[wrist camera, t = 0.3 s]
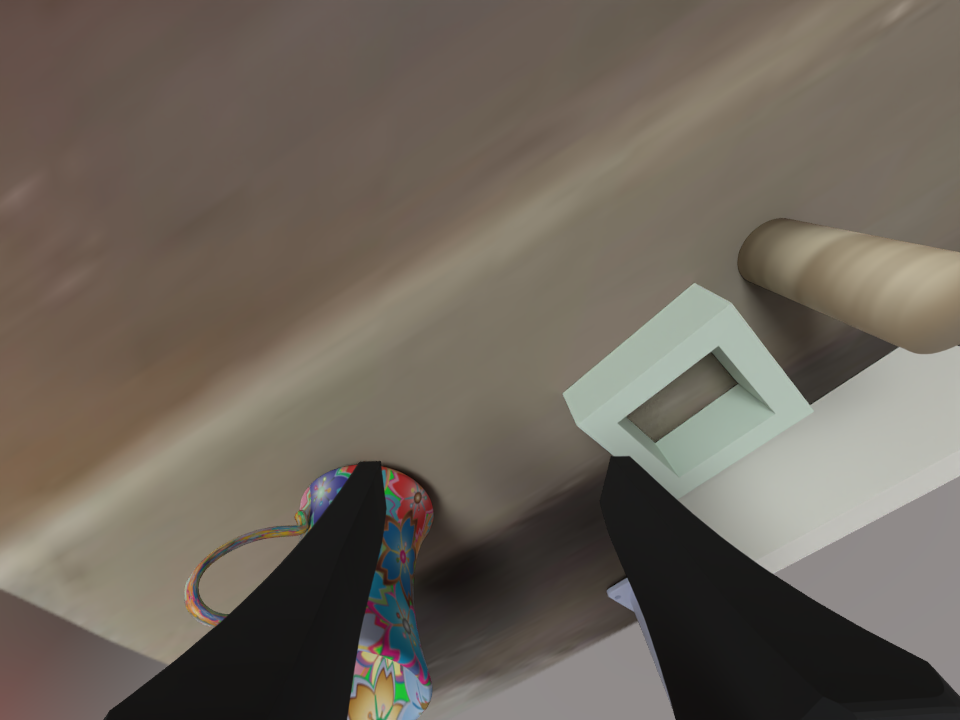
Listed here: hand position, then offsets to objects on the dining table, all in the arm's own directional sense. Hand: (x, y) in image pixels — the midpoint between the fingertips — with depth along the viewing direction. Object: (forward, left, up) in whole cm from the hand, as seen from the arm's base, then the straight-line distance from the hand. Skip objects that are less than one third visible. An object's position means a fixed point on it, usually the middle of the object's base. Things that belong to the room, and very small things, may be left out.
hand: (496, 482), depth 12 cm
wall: (-19, -7, -10) cm, 23 cm away
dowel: (-7, -13, -10) cm, 18 cm away
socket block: (-10, -5, -10) cm, 15 cm away
